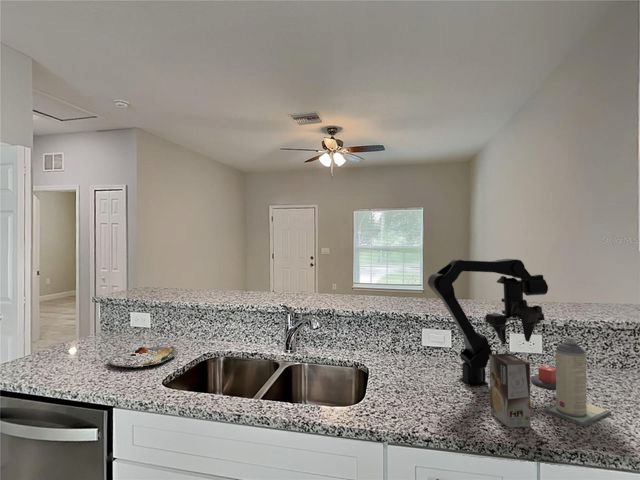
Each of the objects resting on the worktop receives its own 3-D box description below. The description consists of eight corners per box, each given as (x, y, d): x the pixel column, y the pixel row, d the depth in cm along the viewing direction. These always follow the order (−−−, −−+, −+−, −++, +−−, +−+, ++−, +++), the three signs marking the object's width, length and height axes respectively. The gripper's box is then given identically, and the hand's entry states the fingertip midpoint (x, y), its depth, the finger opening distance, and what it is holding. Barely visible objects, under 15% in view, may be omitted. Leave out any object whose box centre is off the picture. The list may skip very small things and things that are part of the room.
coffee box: (532, 427, 94) (531, 363, 94) (508, 428, 94) (507, 364, 94) (510, 410, 103) (510, 352, 103) (488, 412, 103) (488, 353, 103)
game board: (570, 400, 110) (570, 397, 110) (610, 413, 101) (610, 410, 101) (544, 411, 103) (544, 408, 103) (584, 426, 94) (584, 423, 94)
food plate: (140, 350, 166) (140, 342, 166) (187, 353, 161) (187, 345, 161) (96, 370, 141) (96, 361, 141) (150, 374, 137) (150, 365, 137)
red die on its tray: (557, 392, 116) (556, 375, 116) (524, 382, 124) (524, 366, 124) (572, 385, 121) (571, 369, 121) (540, 376, 130) (540, 361, 130)
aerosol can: (568, 404, 105) (567, 333, 105) (592, 415, 99) (592, 339, 99) (550, 408, 103) (549, 335, 103) (574, 419, 96) (573, 342, 97)
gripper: (506, 302, 115) (508, 352, 115) (556, 297, 119) (559, 346, 119) (483, 297, 126) (485, 343, 126) (530, 293, 130) (532, 337, 130)
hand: (515, 342), depth 125 cm, fingers open, 9 cm apart
